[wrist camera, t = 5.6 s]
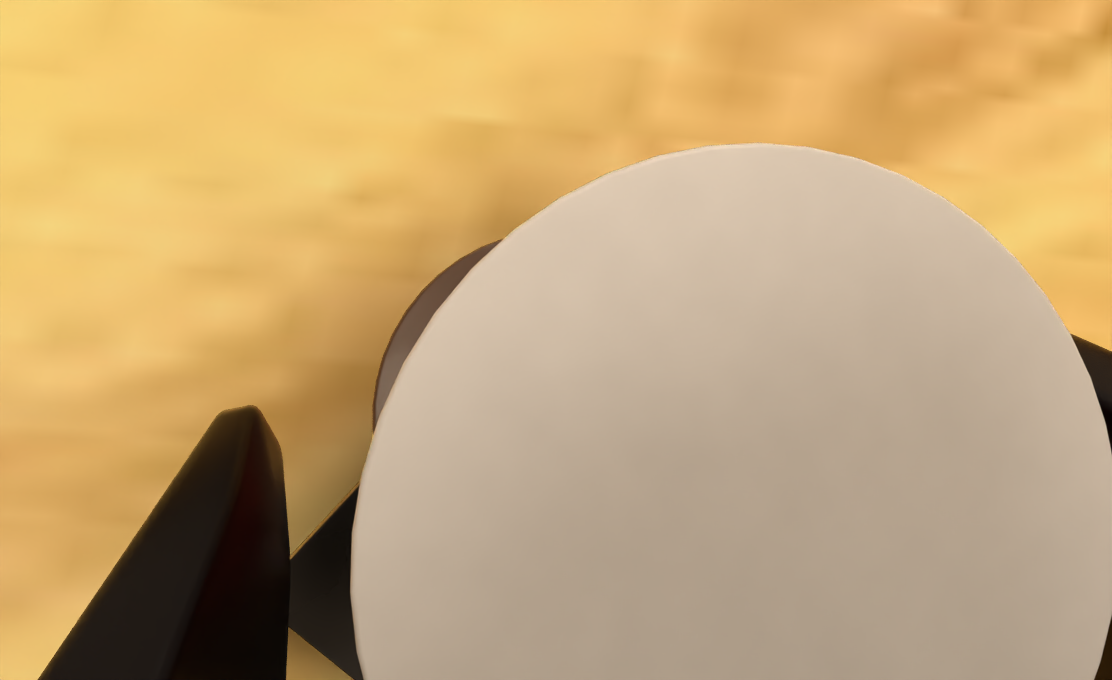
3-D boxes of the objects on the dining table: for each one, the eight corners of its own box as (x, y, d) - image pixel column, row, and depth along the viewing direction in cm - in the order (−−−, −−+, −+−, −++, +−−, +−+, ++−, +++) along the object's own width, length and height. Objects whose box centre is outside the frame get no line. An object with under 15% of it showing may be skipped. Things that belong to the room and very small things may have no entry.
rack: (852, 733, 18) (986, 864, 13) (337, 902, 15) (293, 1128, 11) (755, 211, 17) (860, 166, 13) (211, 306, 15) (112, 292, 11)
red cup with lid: (571, 619, 13) (798, 1133, 5) (352, 428, 12) (140, 617, 4) (755, 404, 14) (1247, 506, 5) (556, 210, 13) (756, -30, 5)
